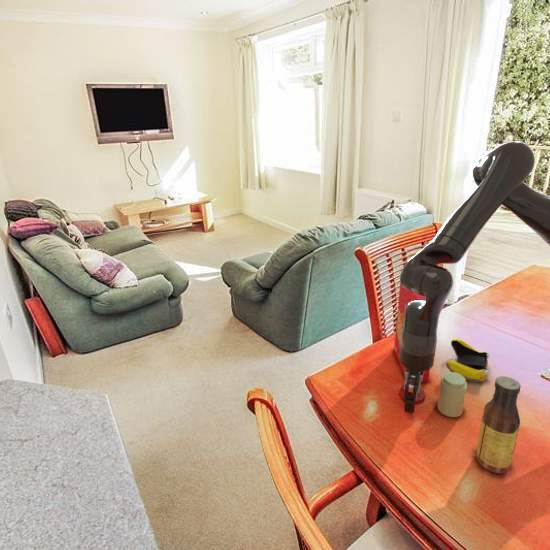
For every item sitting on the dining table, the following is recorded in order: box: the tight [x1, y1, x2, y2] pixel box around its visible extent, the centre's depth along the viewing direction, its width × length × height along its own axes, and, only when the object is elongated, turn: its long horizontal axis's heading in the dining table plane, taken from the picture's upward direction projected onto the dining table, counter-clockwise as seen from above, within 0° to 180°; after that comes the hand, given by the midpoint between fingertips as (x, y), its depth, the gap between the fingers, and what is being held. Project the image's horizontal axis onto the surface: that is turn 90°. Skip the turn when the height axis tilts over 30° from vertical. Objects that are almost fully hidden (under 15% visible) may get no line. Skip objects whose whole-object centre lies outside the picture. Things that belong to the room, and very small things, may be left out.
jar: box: [436, 371, 468, 418], centre depth 89 cm, size 6×6×9 cm
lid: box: [398, 383, 426, 406], centre depth 91 cm, size 6×6×1 cm
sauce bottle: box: [475, 375, 521, 474], centre depth 73 cm, size 7×6×20 cm
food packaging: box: [393, 282, 431, 383], centre depth 102 cm, size 15×5×25 cm, turn 178°
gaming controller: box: [445, 337, 490, 383], centre depth 103 cm, size 15×6×10 cm
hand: (410, 402), depth 92 cm, fingers closed on lid, 6 cm apart
